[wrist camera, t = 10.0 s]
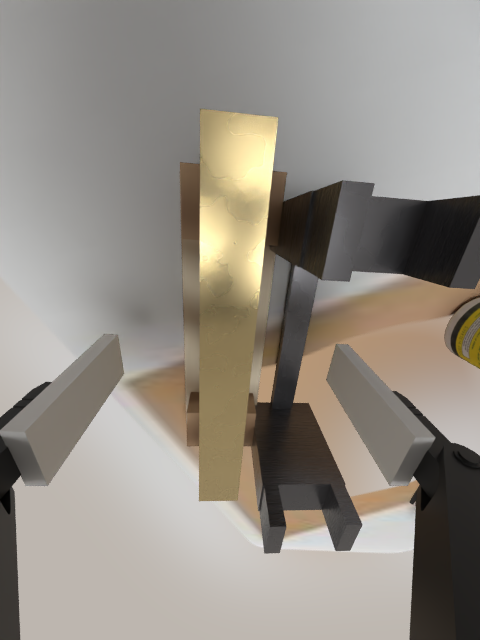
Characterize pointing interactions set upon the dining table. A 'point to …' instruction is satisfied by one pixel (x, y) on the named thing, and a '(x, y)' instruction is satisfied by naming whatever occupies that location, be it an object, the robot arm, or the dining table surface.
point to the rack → (307, 266)
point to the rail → (229, 284)
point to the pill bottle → (465, 333)
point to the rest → (192, 293)
